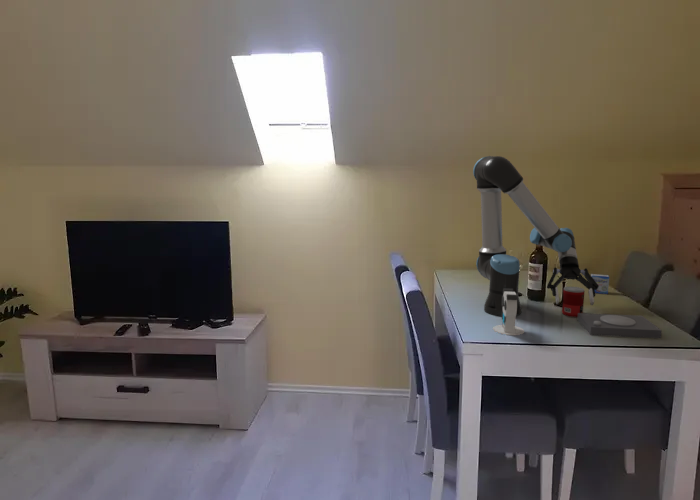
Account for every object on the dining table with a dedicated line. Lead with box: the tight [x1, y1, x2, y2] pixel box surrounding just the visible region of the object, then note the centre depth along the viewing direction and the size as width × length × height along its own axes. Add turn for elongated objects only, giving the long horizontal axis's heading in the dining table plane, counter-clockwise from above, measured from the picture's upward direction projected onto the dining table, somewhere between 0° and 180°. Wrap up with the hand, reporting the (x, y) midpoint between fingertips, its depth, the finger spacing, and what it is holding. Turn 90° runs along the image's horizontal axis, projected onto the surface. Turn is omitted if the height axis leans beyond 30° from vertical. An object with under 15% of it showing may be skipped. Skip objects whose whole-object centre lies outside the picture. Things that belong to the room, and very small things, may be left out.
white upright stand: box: [492, 288, 525, 336], centre depth 197 cm, size 12×11×15 cm
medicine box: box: [590, 273, 610, 295], centre depth 253 cm, size 8×4×9 cm, turn 68°
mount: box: [576, 312, 662, 339], centre depth 200 cm, size 24×18×4 cm
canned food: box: [561, 286, 586, 318], centre depth 217 cm, size 8×8×11 cm
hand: (575, 303), depth 216 cm, fingers open, 13 cm apart
